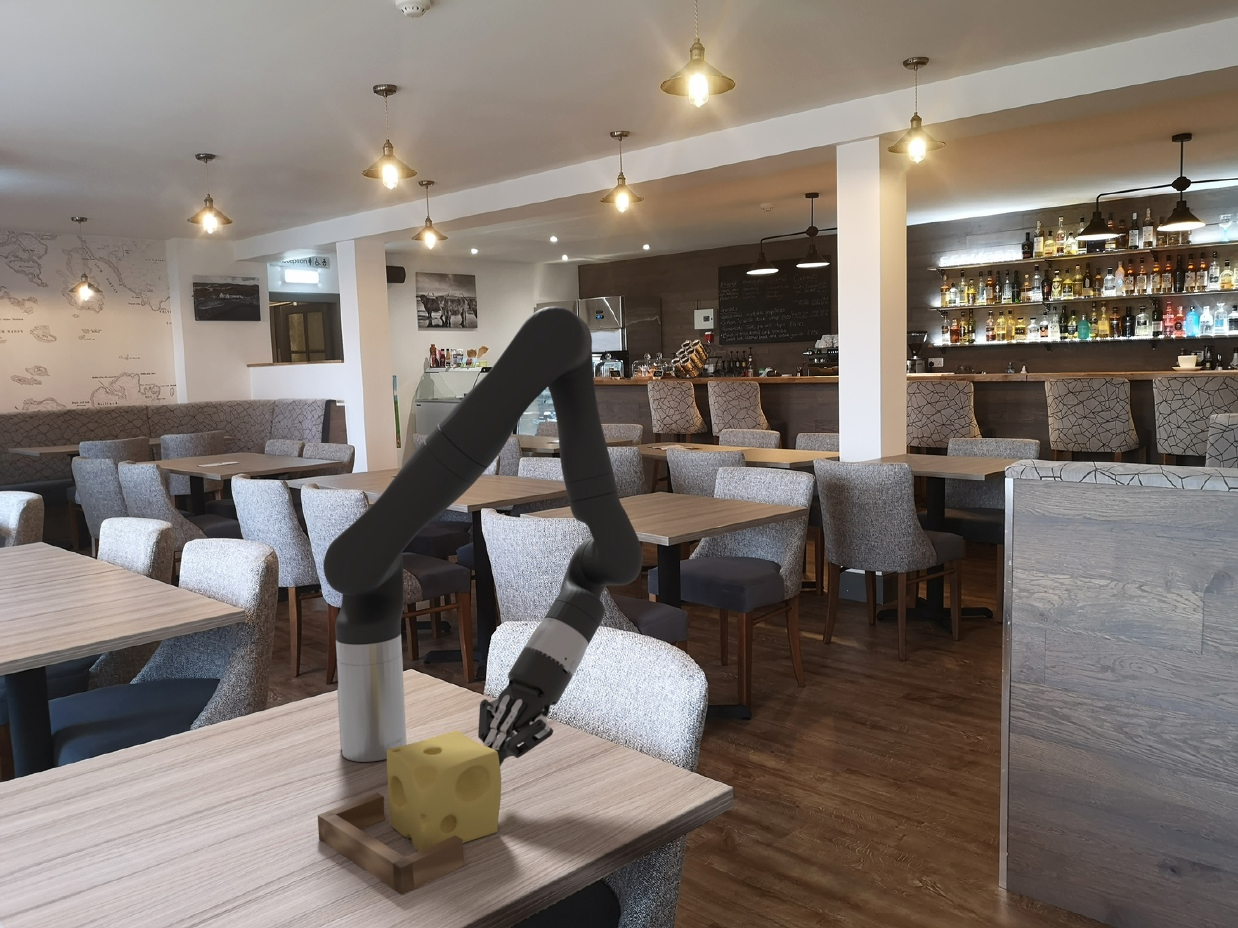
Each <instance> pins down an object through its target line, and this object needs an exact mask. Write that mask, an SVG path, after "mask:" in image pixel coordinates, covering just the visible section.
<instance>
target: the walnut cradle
mask: <svg viewBox="0 0 1238 928" xmlns="http://www.w3.org/2000/svg"><path fill="white" fill-rule="evenodd" d="M384 796H385V795H383V794H381V793H379V792H375V793H372V794H370V795H369V794H368V795H367V796H364V797H362V798H359V799H356V800H354V801H351V802H348V803H345V804H343V805H340V806H338V807H335V808H332V809H330V810H327V811H325V812H322V813H320V814H317V828H318V840H320V841H321V842H323V844H326V845H327V846H329V848H331V849H333V850H334V851H336V852H338V854H340V855H342V856H343V857H345V859H348V860H349V861H351V862H352V863H353V864H355V865H357V866H358V867H360V868H361V869H362V870H364V871H366V872H367V873H369V874H370V875H372V876H373V877H374V878H376V879H378V880H379V881H380V882H382V883H383V884H385V885H387V886H388V887H389V888H391V889H392V890H394V891H395V892H397V893H398V894H400V895H401V896H403V895H405V894H406V893H409V892H411V891H413V890H416V889H418V888H419V887H423V886H424V885H426V884H429V883H430V882H432V881H435V880H436V879H438V878H440V877H443V876H445V875H447V874H448V873H449V874H450V873H452V872H454V871H456V870H457V869H460V868H461V867H464V866H465V854H464V843H463V839H461V838H459V837H457V836H456V835H454V836H452V837H450V838H448V839H445V840H443V841H441V842H439V843H436V844H434V845H432V846H430V847H427V848H425V849H423V850H421V851H418V850H417V851H416V852H414V853H412V854H410V855H407V856H403V855H402V854H401V853H398V852H397V851H395V850H393V848H390V847H389V846H387V845H386V844H384V843H382V842H381V841H379V840H378V839H376V838H374V837H373V836H371V835H370V834H368V833H366V832H364V831H363V829H365V828H368V827H369V826H372V825H374V824H377V823H379V822H382V821H384V820H385V819H386V818H385V817H386V815H385V813H386V812H385V811H386V810H385V797H384Z"/></svg>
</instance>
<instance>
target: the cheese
mask: <svg viewBox="0 0 1238 928" xmlns="http://www.w3.org/2000/svg"><path fill="white" fill-rule="evenodd" d="M386 775H387V791H388V792H387V793H388V808H389V819H390V825H391V827H392V828H393V829H394V830H395V831H397V832H398V833H399V834H400V835H402V837H404V838H407V839H411V842H412V843H411V844H412V846H413V847H414V849H415V850H416V851H417V852H418V851H421V850H423V849H425V848H427V847H430V846H432V845H434V844H436V843H439V842H441V841H443V840H445V839H448V838H450V837H452V836H454V835H456V836H457V837H459V838H461V839H463V844H464V843H467V842H470V841H474V840H476V839H480V838H483V837H486V836H489V835H492V834H496V833H497V832H498V827H499V826H498V824H499V816H500V810H501V809H500V808H501V800H502V799H501V798H502V772H501V766H500V763H499V757H498V752H497V751H495V750H494V749H491V748H489V747H486V746H484V744H481V743H480V742H478V741H476V740H474V739H472V738H470V737H469V736H468V735H465V734H464V733H462V732H461V731H460V730H454V731H451V732H446V733H444V734H443V733H442V734H439V735H435V736H432V737H430V738H426V739H423V740H419V741H417V742H416V741H415V742H412V743H407V745H404V746H400V747H395V748H391V749H388V750H387V759H386Z"/></svg>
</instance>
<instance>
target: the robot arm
mask: <svg viewBox="0 0 1238 928" xmlns="http://www.w3.org/2000/svg"><path fill="white" fill-rule="evenodd" d="M591 333H592V332H591V330H590V328H589V326H588V324H587V322H585V320H584V319H582V318H581V316H579V315H577V314H576V313H575V312H573V311H572V310H569V309H568V308H566V307H563V306H557V305H555V306H553V305H551V306H545V307H543V308H541V309H538V310H537V311H535V312H533V313H532V314H531V315H530V316H529V317H528V318H527V319H526V320H525V322H524V323H522V325H521V327H520V328H519V329H518V331H517V332H516V334H515V335H514V336H513V339H512V340H511V341H510V343H509V344H508V345H507V346H506V347H505V350H504V351H503V353H502V354H501V355H500V357H499V358H498V359H497V361H496V362H495V363H494V364H493V366H492V367H491V369H490V370H489V371H488V372H487V374H485V376H483V378H482V379H481V380H480V381H479V382H478V383H477V384H476V385H474V387H473V388H471V389H470V391H468V392H467V394H465V395H464V396H463V397H462V399H460V400H459V402H458V403H457V404H455V406H454V407H453V408H452V409H451V410H450V411H449V412H448V413H447V414H446V415H445V416H444V418H442V419H441V420H440V422H439V423H437V425H436V426H435V427H434V429H432V431H431V432H430V433H429V434H428V436H426V438H425V439H423V441H422V442H421V444H420V445H419V446H418V447H417V449H415V451H414V452H413V454H412V455H411V456H410V457H409V459H407V461H406V462H405V463H404V465H403V466H402V468H400V470H399V471H398V473H397V474H396V475H395V476H394V478H393V479H392V481H390V483H389V485H388V486H387V487H386V488H385V490H384V491H383V492H382V494H381V495H380V496H379V497H378V499H376V501H375V502H374V503H372V505H371V506H370V507H368V509H367V510H365V511H364V513H362V515H360V516H359V517H358V518H357V519H356V520H355V521H353V523H352V524H350V526H349V527H347V528H346V529H345V530H344V531H342V532H341V533H340V534H339V535H338V536H337V537H335V539H333V540H332V542H331V543H330V544H329V546H328V547H327V550H326V551H325V555H324V558H323V574H324V578H325V580H326V582H327V584H328V585H329V586H330V587H331V588H332V589H333V590H334V591H335V592H337V593H339V594H342V595H341V596H342V598H341V605H340V609H339V613H338V615H337V617H336V619H335V625H334V627H335V628H334V629H335V647H336V649H335V650H336V663H337V665H336V666H337V679H338V680H337V682H338V683H337V684H338V686H337V688H336V689H337V706H338V707H337V709H338V726H339V741H340V742H339V743H340V744H339V745H340V749H341V754H342V757H344V759H346V760H349V761H353V762H362V763H366V762H368V763H370V762H376V761H378V762H379V761H382V760H383V761H384V760H387V750H388V749H391V748H395V747H400V746H404V745H408V743H407V730H406V729H407V728H406V727H407V726H406V705H405V687H404V683H405V682H404V669H403V668H404V665H403V650H402V633H401V632H402V629H401V628H402V625H401V624H402V616H403V614H404V613H403V612H404V604H405V603H404V602H405V600H404V597H405V596H404V595H405V594H404V593H405V591H404V588H405V587H404V585H405V584H404V561H403V560H404V559H403V551H404V550H405V549H406V548H407V546H408V545H409V544H410V543H411V541H413V539H414V538H415V537H416V536H417V535H418V534H419V533H420V531H422V530H423V529H424V528H425V527H426V526H427V525H428V524H429V523H430V522H432V521H433V520H434V519H436V518H437V517H439V515H441V514H442V513H443V512H445V510H447V509H448V508H449V507H451V505H452V504H454V503H456V501H457V500H458V499H459V498H460V497H462V495H464V494H465V492H467V491H468V490H469V489H470V488H471V487H472V486H473V485H474V484H475V483H476V481H477V480H478V479H479V478H480V477H481V476H482V475H483V474H484V473H485V471H487V470H488V468H489V467H491V465H492V463H494V461H495V460H496V458H497V457H498V456H499V454H500V453H501V452H502V450H503V448H504V447H505V445H506V444H507V442H508V441H509V439H510V437H511V436H512V434H513V432H514V430H515V428H516V426H518V425H517V424H518V423H519V421H520V419H521V417H523V414H525V412H527V409H528V408H529V407H530V406H531V405H532V404H533V402H534V401H535V400H536V399H537V398H539V396H540V395H541V394H542V393H543V392H544V391H546V390H547V389H548V391H549V394H550V397H551V400H552V403H553V408H554V413H555V419H556V427H557V434H558V435H557V436H558V437H557V438H558V449H559V458H560V465H561V473H562V477H563V481H564V486H565V490H566V494H567V498H568V499H567V500H568V504H569V508H570V510H571V514H572V516H573V518H574V519H575V520H576V521H578V522H581V523H583V524H585V525H586V526H587V528H588V529H589V532H590V534H591V536H592V537H589V538H587V539H585V540H584V541H583V542H581V543H580V545H578V547H577V548H576V549H575V551H574V552H573V554H572V556H571V558H570V560H569V562H568V565H567V568H566V571H565V573H564V577H563V579H562V583H561V586H560V591H559V593H558V595H557V597H556V598H555V599H554V601H553V603H552V604H551V605H550V608H549V609H548V612H546V614H545V616H544V617H543V619H542V621H541V622H540V624H539V625H538V626H537V627H536V628H535V629H534V631H533V632H532V634H531V635H530V637H529V639H528V640H527V642H526V643H525V646H524V647H523V648H522V651H520V654H519V655H518V657H517V658H516V661H515V662H514V664H513V665H512V667H511V668H510V670H509V672H508V675H507V678H508V683H507V686H506V687H505V688H504V689H502V691H501V692H500V693H499V695H498V698H497V699H495V700H494V699H493V700H492V701H489V700H487V699H483V700H482V701H480V703H479V714H478V715H479V716H478V717H479V718H478V732H477V733H478V736H477V738H479V740H480V741H481V742H482V743H483V745H484V746H486V747H489V748H491V749H494V750H495V751H497V752H498V757H499V763H500V767H501V766H502V765H503V763H504V761H505V760H507V759H510V757H514V758H516V759H520V758H521V757H523V756H524V755H525V754H527V753H528V752H530V751H531V750H532V749H534V748H535V747H537V746H539V745H540V744H542V743H543V742H544V741H546V740H548V738H551V736H552V735H553V734H554V729H553V728H552V727H551V726H550V725H549V724H548V723H549V722H548V720H547V717H548V716H549V714H550V708H551V706H556V705H557V704H558V703H559V701H560V699H561V698H562V696H563V694H564V693H565V691H566V689H567V687H568V686H569V684H570V682H571V680H572V678H573V676H574V675H575V673H576V671H577V670H578V669H579V666H580V665H581V663H582V660H583V659H584V656H585V654H586V651H587V649H588V646H589V645H590V643H591V641H593V640H592V639H594V637H595V635H596V633H597V630H598V629H599V628H600V626H601V624H602V621H603V619H604V617H605V612H606V611H605V610H606V609H605V606H604V603H603V602H602V601H601V596H602V593H603V591H604V590H605V588H606V587H608V586H625V585H628V584H631V583H633V582H634V581H635V580H636V579H637V578H638V577H639V576H640V575H639V574H640V572H641V570H642V568H643V567H642V566H643V550H642V546H641V542H640V540H639V537H638V535H637V532H636V530H635V529H634V526H633V524H632V523H631V520H630V518H629V516H628V514H627V512H626V510H625V508H624V506H623V505H622V503H621V501H620V496H619V491H618V486H617V482H616V479H615V473H614V469H613V464H612V461H611V458H610V457H611V456H610V453H609V448H608V444H607V441H606V437H605V433H604V429H603V427H602V422H601V417H600V416H601V415H600V412H599V408H598V400H597V395H596V388H595V379H594V377H595V376H594V365H593V363H594V362H593V348H592V347H593V346H592V345H593V338H592V334H591Z"/></svg>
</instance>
